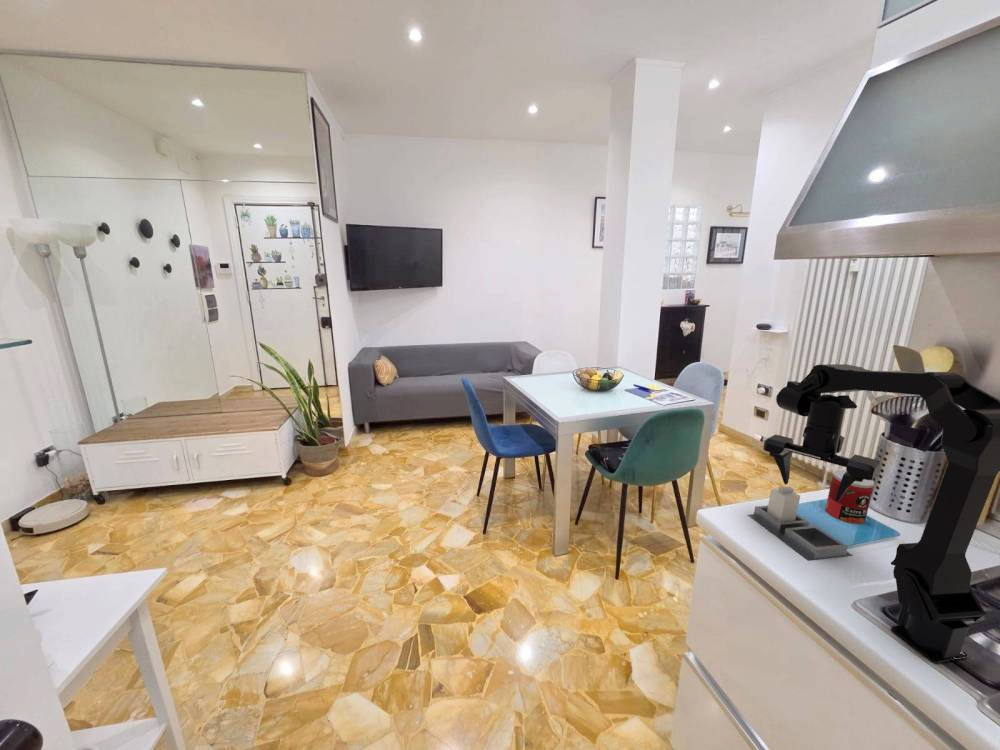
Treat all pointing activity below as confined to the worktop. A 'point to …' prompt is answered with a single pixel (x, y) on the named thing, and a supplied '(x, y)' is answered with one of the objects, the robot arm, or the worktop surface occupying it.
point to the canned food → (849, 499)
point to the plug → (783, 504)
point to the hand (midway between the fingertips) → (810, 492)
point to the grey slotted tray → (801, 536)
